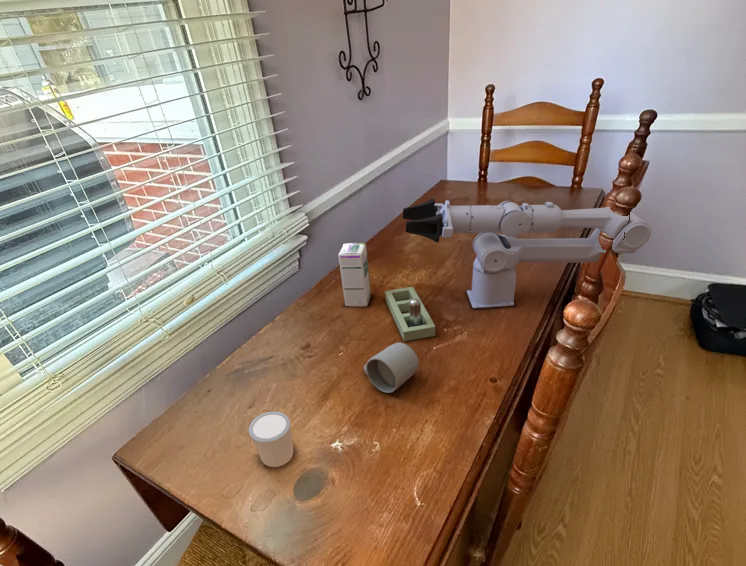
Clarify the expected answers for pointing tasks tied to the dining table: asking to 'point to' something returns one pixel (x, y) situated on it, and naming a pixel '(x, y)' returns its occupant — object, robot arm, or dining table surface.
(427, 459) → the dining table surface
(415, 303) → the silver rounded cylinder
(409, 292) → the rack
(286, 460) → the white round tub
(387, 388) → the ceramic mug
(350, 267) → the syrup box
